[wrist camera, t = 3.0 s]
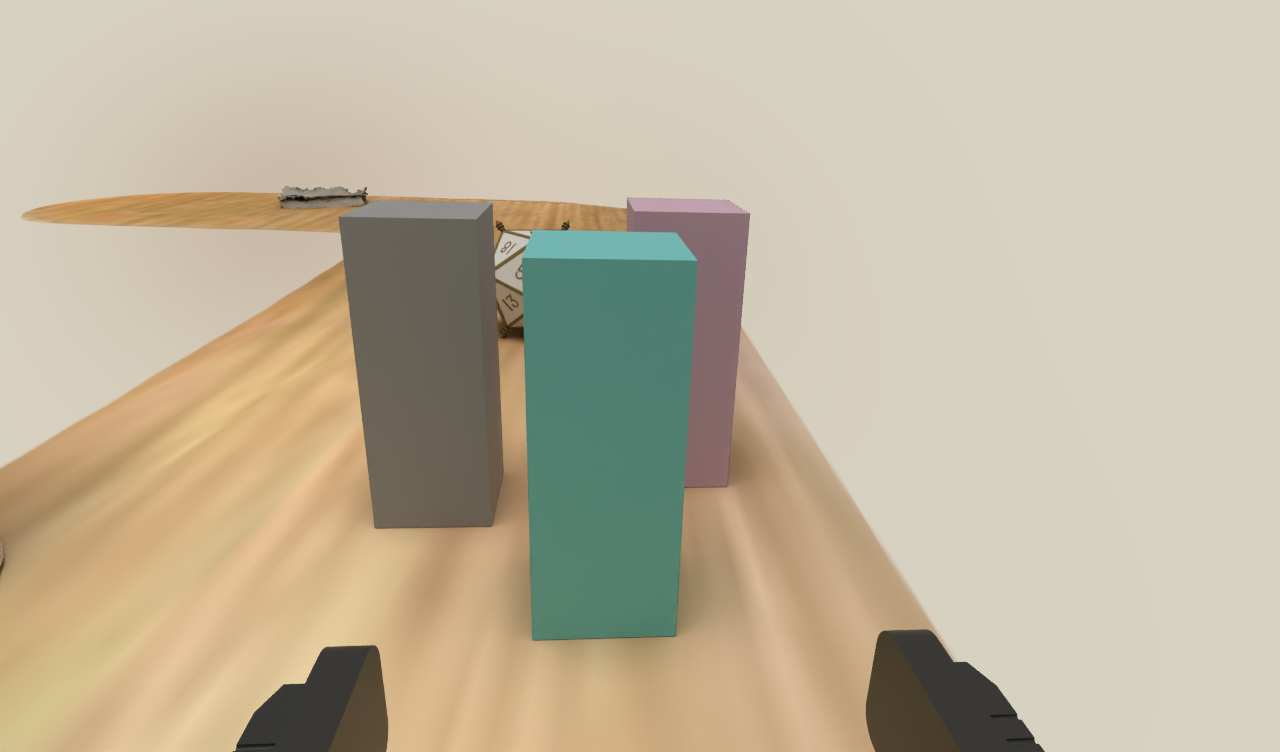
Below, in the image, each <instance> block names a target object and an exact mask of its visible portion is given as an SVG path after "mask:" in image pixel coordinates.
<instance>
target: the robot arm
mask: <svg viewBox="0 0 1280 752" xmlns="http://www.w3.org/2000/svg"><path fill="white" fill-rule="evenodd" d="M3 558H4V554H3V547H2V543H1V540H0V566H1V563H2V561H3ZM866 719H867V726H868V731H869V735H870V739H871V742H872V744H873V747H874V749H875V751H876V752H1044V750H1043V749H1042V747H1041V746H1040V745H1039V744H1036V743H1035V741H1034V737H1033V735H1032V734H1031V732H1030V731H1029V730H1028V728H1027V727H1026V725H1025V724H1024V723H1023V721H1022V720H1018V718H1017V713H1016V712H1015V710H1014V709H1013V708H1012V706H1011V705H1010V703H1009V702H1008V701H1007V699H1006V698H1005V697H1004V695H1003V694H1002V692H1001V691H1000V690H999V688H998V687H997V686H996V685H995V684H994V683H993V682H991V681H990V680H989V679H987V678H986V677H985V676H984V675H982V674H981V673H980V672H979V671H977V670H976V669H975V668H974V667H972V666H971V665H970V664H968V663H967V662H953V661H952V659H951V658H950V656H949V655H948V653H947V652H946V650H945V649H944V647H943V646H942V644H941V643H940V641H939V640H938V638H937V637H936V636H935V635H934V633H932V632H931V631H930V630H926V629H924V630H893V631H882V632H881V633H880V634H879V636H878V639H877V643H876V649H875V655H874V661H873V667H872V672H871V678H870V684H869V690H868V695H867V701H866ZM387 741H388V717H387V709H386V701H385V693H384V685H383V677H382V669H381V661H380V654H379V650H378V648H377V647H376V646H375V645H370V646H339V647H325V648H324V649H323V650H322V651H321V653H320V654H319V656H318V658H317V660H316V662H315V664H314V666H313V669H312V671H311V673H310V675H309V677H308V679H307V681H306V683H305V684H284V685H283V686H282V687H281V688H280V689H279V690H278V691H276V692H275V693H274V694H273V695H272V696H271V697H270V698H269V699H268V700H267V701H266V702H265V703H264V704H263V705H262V706H261V707H260V708H259V709H257V710H256V711H255V712H254V714H253V716H252V718H251V719H250V721H249V723H248V725H247V727H246V728H245V730H244V732H243V734H242V736H241V738H240V739H239V741H238V743H237V747H236V751H233V752H386V749H387Z"/></svg>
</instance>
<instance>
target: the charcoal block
mask: <svg viewBox="0 0 1280 752" xmlns="http://www.w3.org/2000/svg"><path fill="white" fill-rule="evenodd" d="M339 224H340V233H341V241H342V249H343V258H344V267H345V275H346V284H347V293H348V301H349V310H350V318H351V327H352V335H353V344H354V353H355V361H356V370H357V378H358V387H359V395H360V404H361V413H362V421H363V430H364V438H365V447H366V455H367V464H368V473H369V481H370V490H371V498H372V507H373V516H374V524H375V528H417V527H483V526H492V522H493V518H494V513H495V509H496V504H497V500H498V495H499V490H500V486H501V481H502V477H503V448H502V424H501V400H500V376H499V352H498V328H497V304H496V279H495V255H494V231H493V207H492V203H469V202H423V201H377V200H376V201H373V202H371V203H369V204H366V205H364V206H362V207H360V208H357V209H355V210H353V211H350V212H348V213H346V214H343V215H341V216H339Z"/></svg>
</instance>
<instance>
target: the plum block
mask: <svg viewBox="0 0 1280 752" xmlns="http://www.w3.org/2000/svg"><path fill="white" fill-rule="evenodd" d="M749 220H750V213H748V212H747V211H745V210H743V209H742V208H740V207H739V206H737V205H735V204H734V203H732V202H730V201H729V200H711V199H665V198H664V199H663V198H627V229H626V232H672V233H677V234H678V236H679V237H680V238H681V239H682V241H683V242H684V243H685V245H686V246H687V247H688V249H689V250H690V251H691V252H692V254H693V255H694V256H695V258H696V259H697V260H698V264H697V281H696V298H695V315H694V332H693V349H692V366H691V382H690V399H689V416H688V433H687V450H686V467H685V484H684V487H727V485H728V473H729V461H730V449H731V437H732V424H733V412H734V400H735V388H736V376H737V364H738V352H739V340H740V328H741V316H742V304H743V292H744V279H745V268H746V256H747V244H748V232H749Z"/></svg>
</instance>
